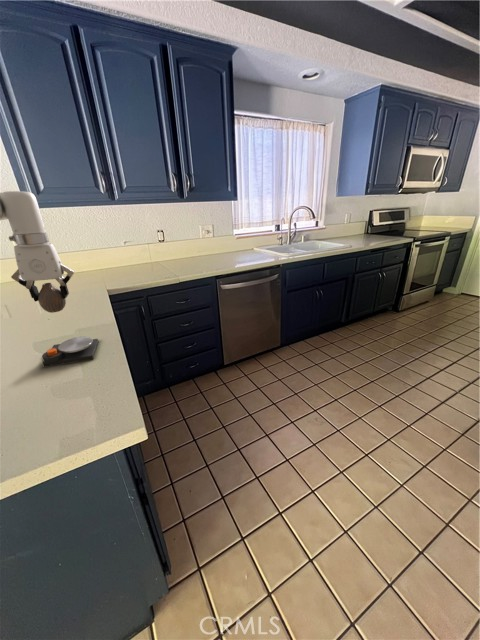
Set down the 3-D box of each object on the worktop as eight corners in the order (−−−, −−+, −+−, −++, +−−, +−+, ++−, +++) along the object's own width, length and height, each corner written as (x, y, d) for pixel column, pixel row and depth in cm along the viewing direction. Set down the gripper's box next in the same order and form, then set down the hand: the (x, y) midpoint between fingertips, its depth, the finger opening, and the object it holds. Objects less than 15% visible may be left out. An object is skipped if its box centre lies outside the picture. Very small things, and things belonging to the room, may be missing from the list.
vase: (40, 316, 80) (30, 288, 76) (45, 308, 86) (36, 282, 82) (66, 312, 83) (58, 285, 79) (69, 304, 88) (61, 279, 85)
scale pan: (54, 355, 83) (54, 353, 83) (63, 340, 92) (62, 339, 91) (89, 349, 86) (89, 348, 86) (94, 336, 95) (94, 334, 94)
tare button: (46, 357, 83) (45, 353, 82) (49, 353, 85) (47, 348, 84) (56, 355, 84) (54, 351, 83) (58, 351, 86) (57, 347, 85)
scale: (42, 367, 82) (39, 359, 81) (54, 348, 93) (51, 340, 92) (93, 359, 86) (91, 351, 85) (98, 341, 97) (96, 334, 96)
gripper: (-12, 243, 69) (13, 306, 77) (63, 239, 74) (80, 299, 82) (1, 239, 76) (23, 297, 83) (70, 236, 81) (85, 291, 88)
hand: (51, 298), depth 82 cm, fingers closed on vase, 6 cm apart
